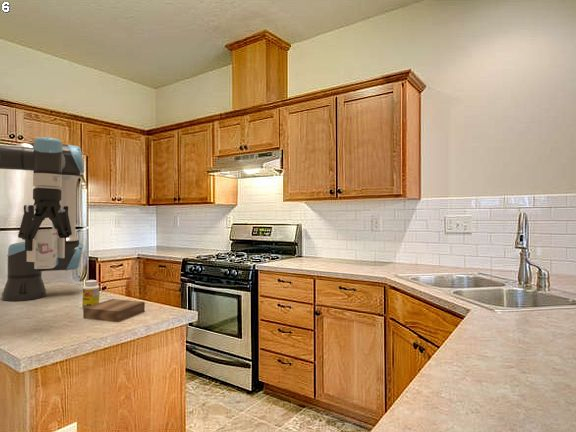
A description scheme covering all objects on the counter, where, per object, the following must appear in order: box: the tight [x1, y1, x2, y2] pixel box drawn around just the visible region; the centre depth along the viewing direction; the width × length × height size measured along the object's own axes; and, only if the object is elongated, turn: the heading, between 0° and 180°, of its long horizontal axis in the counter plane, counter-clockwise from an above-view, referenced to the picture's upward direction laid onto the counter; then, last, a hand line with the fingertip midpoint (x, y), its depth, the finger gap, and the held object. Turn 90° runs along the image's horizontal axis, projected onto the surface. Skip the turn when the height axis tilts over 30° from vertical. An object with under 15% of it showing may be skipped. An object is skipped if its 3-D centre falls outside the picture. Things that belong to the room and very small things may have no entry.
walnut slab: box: [82, 298, 146, 323], centre depth 133 cm, size 14×14×4 cm
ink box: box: [33, 228, 58, 269], centre depth 117 cm, size 9×5×12 cm, turn 21°
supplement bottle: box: [82, 279, 100, 308], centre depth 141 cm, size 6×6×10 cm
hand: (46, 259), depth 117 cm, fingers closed on ink box, 9 cm apart
